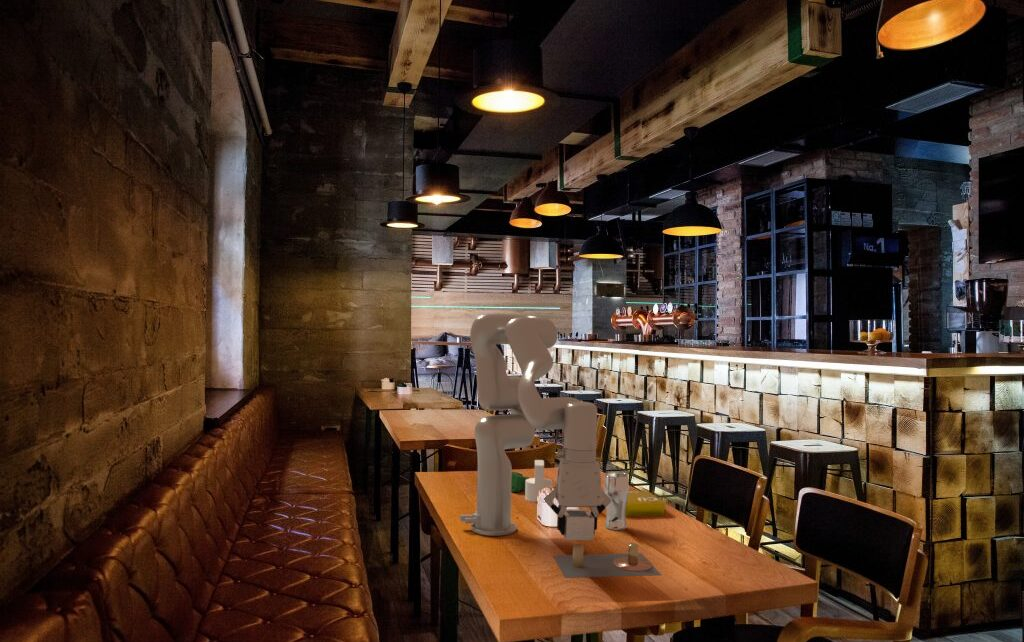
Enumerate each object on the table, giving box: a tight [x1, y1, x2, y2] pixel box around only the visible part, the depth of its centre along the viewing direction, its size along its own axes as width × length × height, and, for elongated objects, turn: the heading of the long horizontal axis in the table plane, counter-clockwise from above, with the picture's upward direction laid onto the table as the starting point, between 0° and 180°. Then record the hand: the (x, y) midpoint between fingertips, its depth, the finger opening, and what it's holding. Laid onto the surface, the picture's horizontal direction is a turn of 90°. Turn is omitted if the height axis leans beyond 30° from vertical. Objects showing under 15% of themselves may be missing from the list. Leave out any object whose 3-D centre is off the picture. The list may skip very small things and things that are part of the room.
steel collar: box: [562, 509, 595, 541], centre depth 149 cm, size 6×6×5 cm
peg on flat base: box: [613, 542, 653, 571], centre depth 150 cm, size 9×9×4 cm
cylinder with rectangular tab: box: [524, 459, 554, 503], centre depth 213 cm, size 9×9×12 cm
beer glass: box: [603, 471, 630, 531], centre depth 183 cm, size 7×7×15 cm
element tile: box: [625, 490, 666, 518], centre depth 202 cm, size 15×15×5 cm
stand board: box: [553, 543, 662, 579], centre depth 149 cm, size 22×14×6 cm, turn 97°
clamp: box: [511, 471, 530, 493], centre depth 226 cm, size 12×6×9 cm, turn 19°
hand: (576, 532), depth 149 cm, fingers closed on steel collar, 6 cm apart
